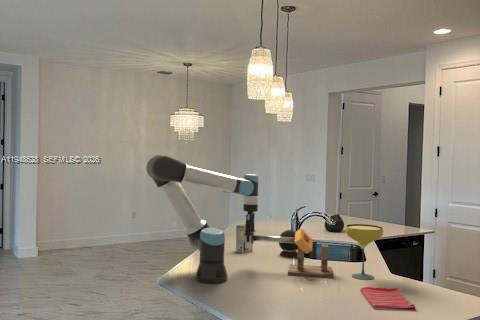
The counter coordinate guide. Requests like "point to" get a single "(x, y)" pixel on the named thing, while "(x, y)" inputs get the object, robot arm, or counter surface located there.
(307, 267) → the stand
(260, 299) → the counter surface
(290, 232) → the black stacked round piece
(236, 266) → the counter surface
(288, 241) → the shaft
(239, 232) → the coffee box
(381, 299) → the dish towel
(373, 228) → the cocktail glass
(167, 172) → the robot arm
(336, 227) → the squash
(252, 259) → the counter surface
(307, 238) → the collar
